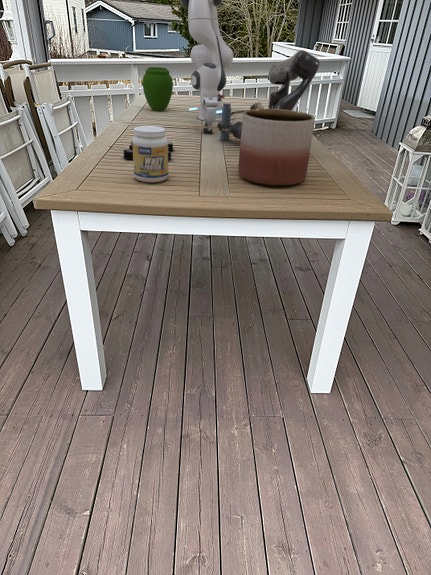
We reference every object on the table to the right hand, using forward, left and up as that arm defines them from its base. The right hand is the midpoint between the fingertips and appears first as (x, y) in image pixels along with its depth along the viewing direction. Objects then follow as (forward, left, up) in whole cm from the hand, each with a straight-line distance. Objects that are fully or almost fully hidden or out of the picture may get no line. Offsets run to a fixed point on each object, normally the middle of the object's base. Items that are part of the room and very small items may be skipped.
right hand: (222, 124), depth 202 cm
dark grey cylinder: (0, +3, -7) cm, 7 cm away
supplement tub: (+62, +40, -7) cm, 74 cm away
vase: (-12, -84, -7) cm, 85 cm away
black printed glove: (+44, +7, -7) cm, 45 cm away
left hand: (-2, -15, -5) cm, 16 cm away
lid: (-2, -14, -5) cm, 15 cm away
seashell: (-63, -45, -7) cm, 78 cm away
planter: (+23, +60, -7) cm, 65 cm away
